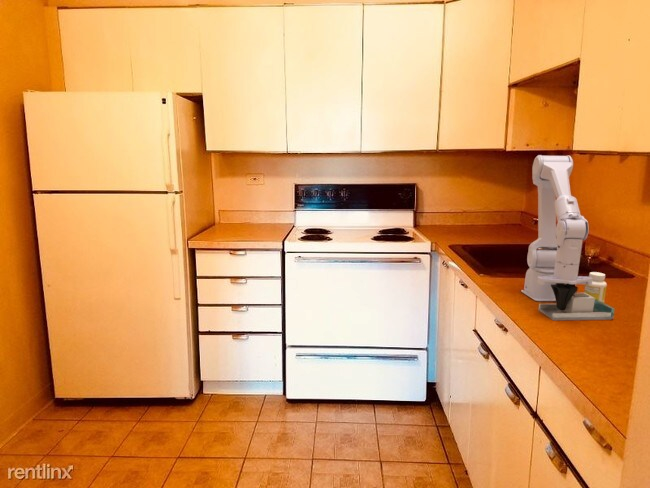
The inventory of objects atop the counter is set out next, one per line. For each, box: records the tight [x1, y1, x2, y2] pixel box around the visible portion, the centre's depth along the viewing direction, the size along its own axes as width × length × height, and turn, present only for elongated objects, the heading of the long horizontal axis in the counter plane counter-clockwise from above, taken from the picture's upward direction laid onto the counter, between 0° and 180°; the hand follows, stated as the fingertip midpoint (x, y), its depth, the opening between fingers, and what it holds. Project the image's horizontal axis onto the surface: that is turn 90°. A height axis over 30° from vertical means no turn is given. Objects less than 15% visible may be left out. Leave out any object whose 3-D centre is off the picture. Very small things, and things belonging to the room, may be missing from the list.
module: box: [564, 292, 595, 312], centre depth 121 cm, size 4×6×5 cm
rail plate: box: [538, 299, 615, 321], centre depth 122 cm, size 17×8×3 cm, turn 93°
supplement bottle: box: [583, 271, 608, 303], centre depth 129 cm, size 5×5×10 cm
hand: (560, 308), depth 121 cm, fingers closed
